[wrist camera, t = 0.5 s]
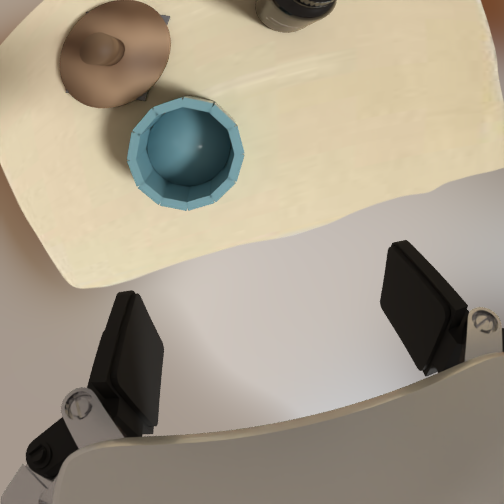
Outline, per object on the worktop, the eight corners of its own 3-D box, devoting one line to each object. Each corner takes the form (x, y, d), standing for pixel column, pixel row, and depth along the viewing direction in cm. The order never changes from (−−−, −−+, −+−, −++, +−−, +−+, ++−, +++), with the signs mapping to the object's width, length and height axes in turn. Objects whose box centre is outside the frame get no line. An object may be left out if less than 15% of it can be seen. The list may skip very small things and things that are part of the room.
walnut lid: (80, 2, 21) (59, -9, 16) (185, 7, 24) (180, -8, 19) (54, 103, 28) (30, 109, 23) (153, 114, 31) (142, 120, 26)
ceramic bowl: (152, 89, 30) (140, 90, 25) (250, 110, 33) (257, 114, 28) (134, 181, 35) (121, 198, 30) (224, 199, 38) (225, 218, 33)
